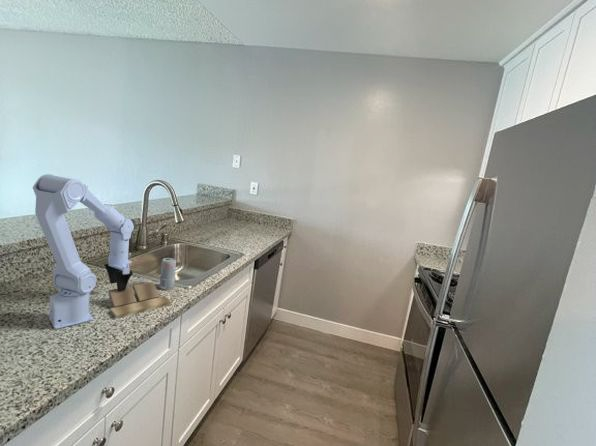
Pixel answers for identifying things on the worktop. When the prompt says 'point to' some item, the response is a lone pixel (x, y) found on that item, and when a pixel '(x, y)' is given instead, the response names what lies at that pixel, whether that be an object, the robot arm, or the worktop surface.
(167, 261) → the energy drink
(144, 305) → the laid board
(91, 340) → the worktop surface
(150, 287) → the plank
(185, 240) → the worktop surface
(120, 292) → the brown flat square block
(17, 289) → the worktop surface
